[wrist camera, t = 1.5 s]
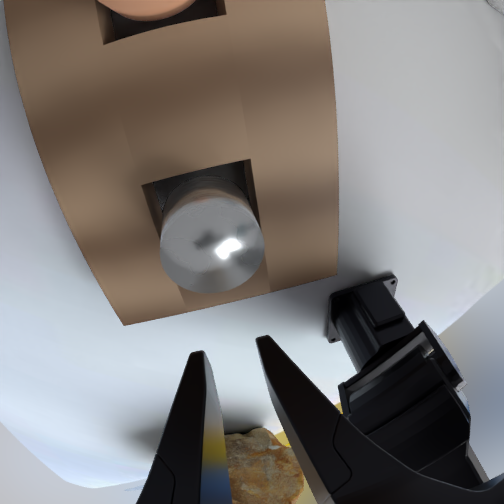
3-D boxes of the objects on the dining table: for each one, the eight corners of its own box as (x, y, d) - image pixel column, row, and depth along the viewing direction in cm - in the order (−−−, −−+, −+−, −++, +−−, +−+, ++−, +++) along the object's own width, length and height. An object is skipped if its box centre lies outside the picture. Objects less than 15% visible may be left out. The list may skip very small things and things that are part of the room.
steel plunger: (255, 242, 17) (269, 280, 14) (176, 261, 17) (177, 302, 14) (242, 166, 14) (257, 194, 12) (151, 188, 14) (145, 222, 11)
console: (319, 248, 22) (336, 274, 20) (127, 294, 21) (123, 325, 18) (278, -104, 7) (296, -125, 5) (25, -44, 6) (1, -56, 4)
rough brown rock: (193, 398, 32) (198, 522, 20) (309, 414, 38) (332, 511, 26) (147, 450, 43) (146, 528, 31) (234, 462, 49) (242, 531, 37)
